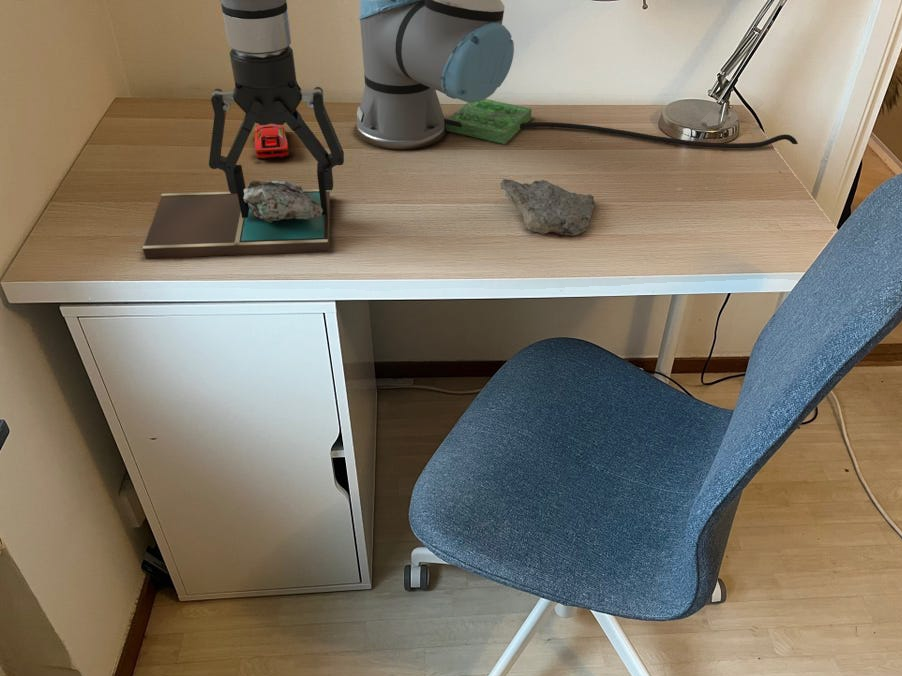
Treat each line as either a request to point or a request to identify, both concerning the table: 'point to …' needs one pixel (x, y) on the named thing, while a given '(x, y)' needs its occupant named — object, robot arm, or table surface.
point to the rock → (550, 207)
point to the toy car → (270, 141)
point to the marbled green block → (490, 120)
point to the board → (229, 228)
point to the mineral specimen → (280, 201)
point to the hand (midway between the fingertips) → (285, 211)
